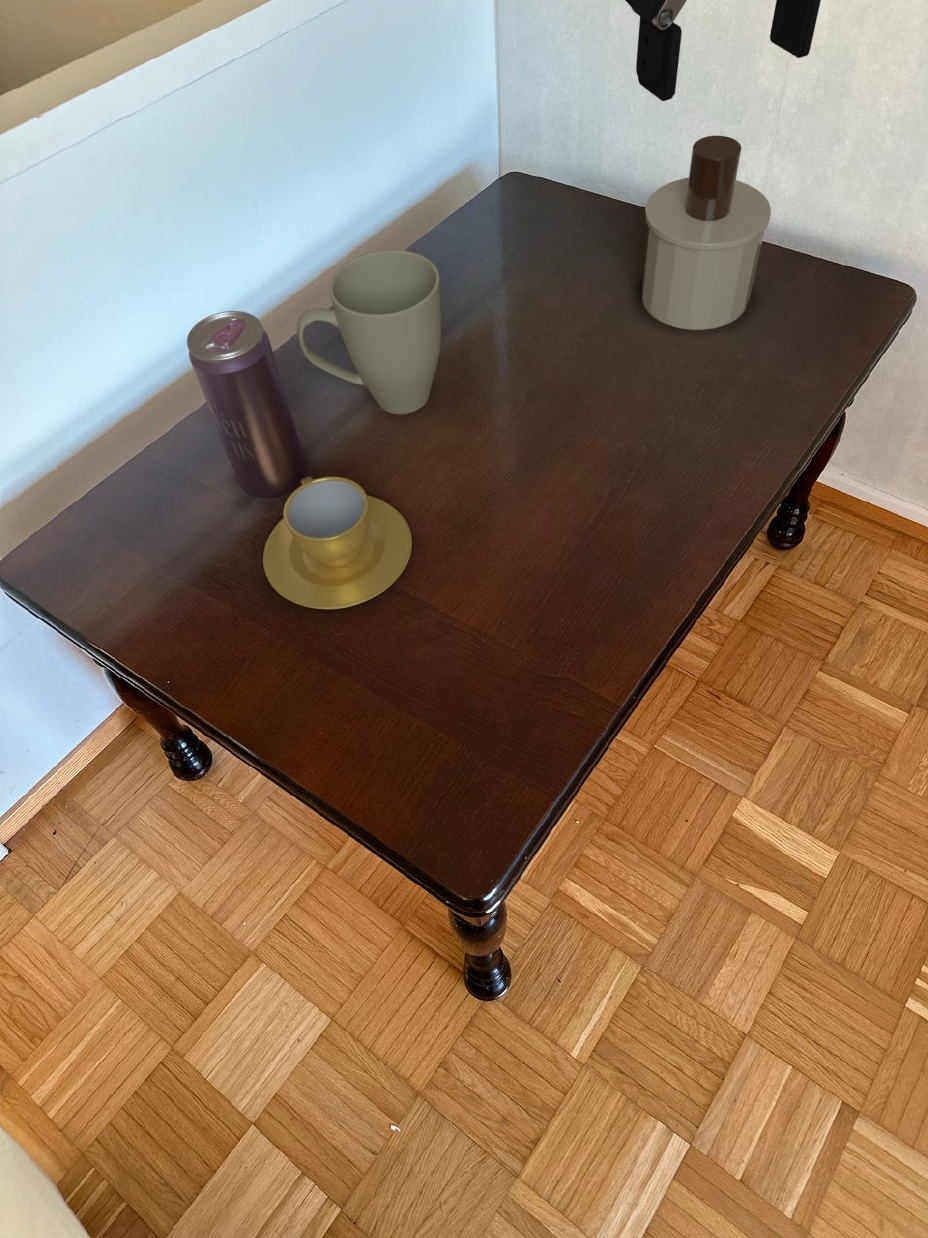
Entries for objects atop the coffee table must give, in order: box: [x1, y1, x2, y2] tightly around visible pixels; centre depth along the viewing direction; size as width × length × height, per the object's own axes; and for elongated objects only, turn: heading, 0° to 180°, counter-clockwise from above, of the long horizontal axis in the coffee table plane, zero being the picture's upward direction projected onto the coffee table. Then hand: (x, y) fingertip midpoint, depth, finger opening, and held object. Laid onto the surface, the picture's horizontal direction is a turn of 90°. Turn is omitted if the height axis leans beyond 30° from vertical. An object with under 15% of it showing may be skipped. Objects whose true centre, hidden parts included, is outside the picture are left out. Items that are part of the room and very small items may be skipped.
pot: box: [641, 225, 765, 331], centre depth 85 cm, size 10×10×8 cm
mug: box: [296, 249, 442, 415], centre depth 78 cm, size 11×10×12 cm
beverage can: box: [186, 310, 308, 502], centre depth 72 cm, size 6×6×15 cm
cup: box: [262, 476, 413, 610], centre depth 71 cm, size 12×12×5 cm
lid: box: [644, 135, 772, 250], centre depth 79 cm, size 11×11×7 cm
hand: (722, 69), depth 56 cm, fingers open, 9 cm apart
